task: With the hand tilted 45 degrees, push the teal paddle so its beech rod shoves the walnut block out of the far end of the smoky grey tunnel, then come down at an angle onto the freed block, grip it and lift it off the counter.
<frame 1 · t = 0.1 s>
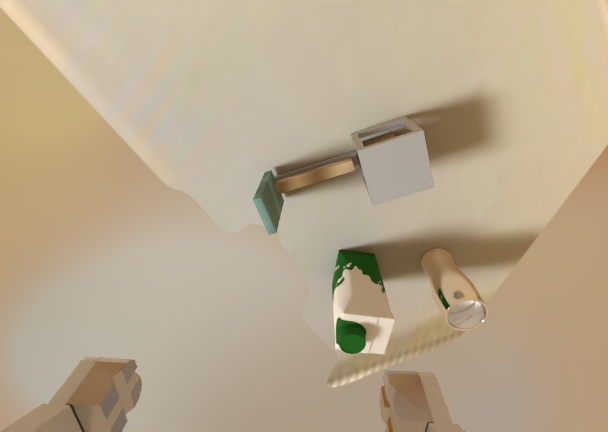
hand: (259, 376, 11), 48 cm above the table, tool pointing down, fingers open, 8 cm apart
tunnel: (383, 149, 56), on the table
walnut block: (380, 150, 56), on the table
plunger: (310, 187, 52), point 7 cm above the table, slide at 0.0 cm
milk carton: (353, 265, 67), on the table
beer glass: (435, 260, 65), on the table
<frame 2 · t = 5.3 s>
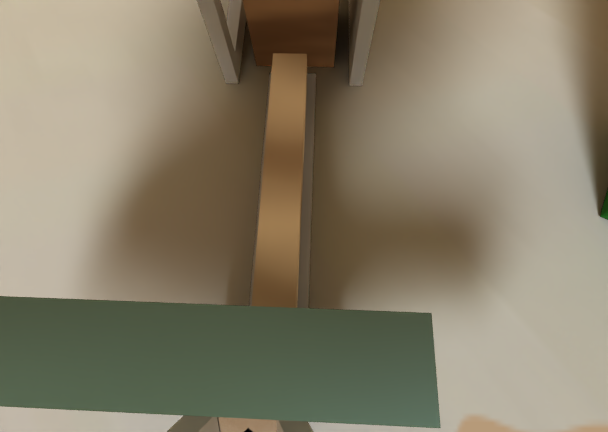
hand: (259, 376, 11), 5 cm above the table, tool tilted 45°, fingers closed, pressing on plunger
tunnel: (296, 29, 22), on the table
walnut block: (296, 36, 22), on the table
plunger: (272, 132, 12), point 7 cm above the table, slide at 0.3 cm, touching gripper
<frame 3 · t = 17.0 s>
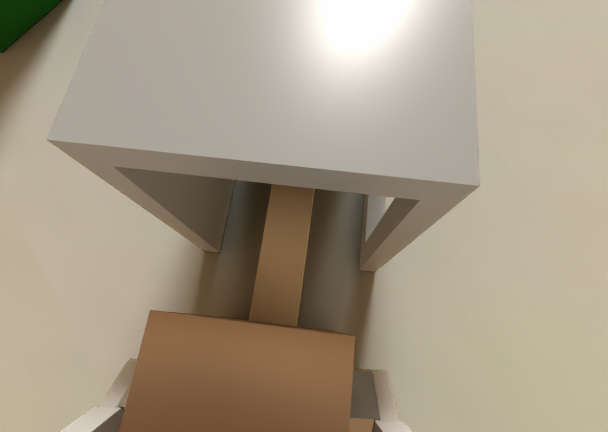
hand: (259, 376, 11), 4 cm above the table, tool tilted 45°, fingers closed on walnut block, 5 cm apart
tunnel: (300, 178, 18), on the table
walnut block: (271, 382, 15), on the table, touching gripper
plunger: (293, 92, 11), point 7 cm above the table, slide at 13.0 cm
milk carton: (10, 0, 23), on the table
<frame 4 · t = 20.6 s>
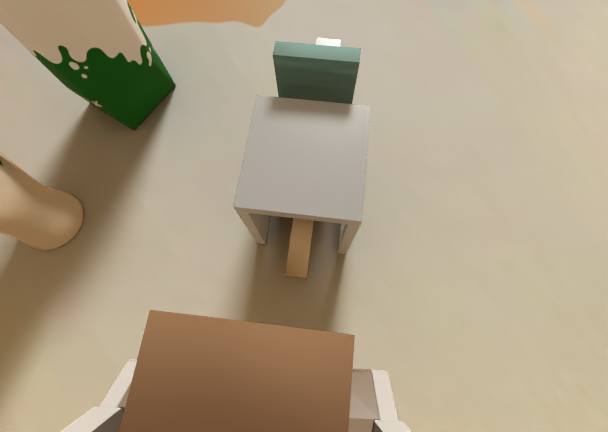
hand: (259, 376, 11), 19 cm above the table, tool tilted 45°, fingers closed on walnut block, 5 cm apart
tunnel: (307, 205, 33), on the table
walnut block: (271, 384, 15), point 15 cm above the table, touching gripper
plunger: (305, 175, 26), point 7 cm above the table, slide at 13.0 cm
milk carton: (133, 95, 38), on the table
beer glass: (55, 221, 33), on the table
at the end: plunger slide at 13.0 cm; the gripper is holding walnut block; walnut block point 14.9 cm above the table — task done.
